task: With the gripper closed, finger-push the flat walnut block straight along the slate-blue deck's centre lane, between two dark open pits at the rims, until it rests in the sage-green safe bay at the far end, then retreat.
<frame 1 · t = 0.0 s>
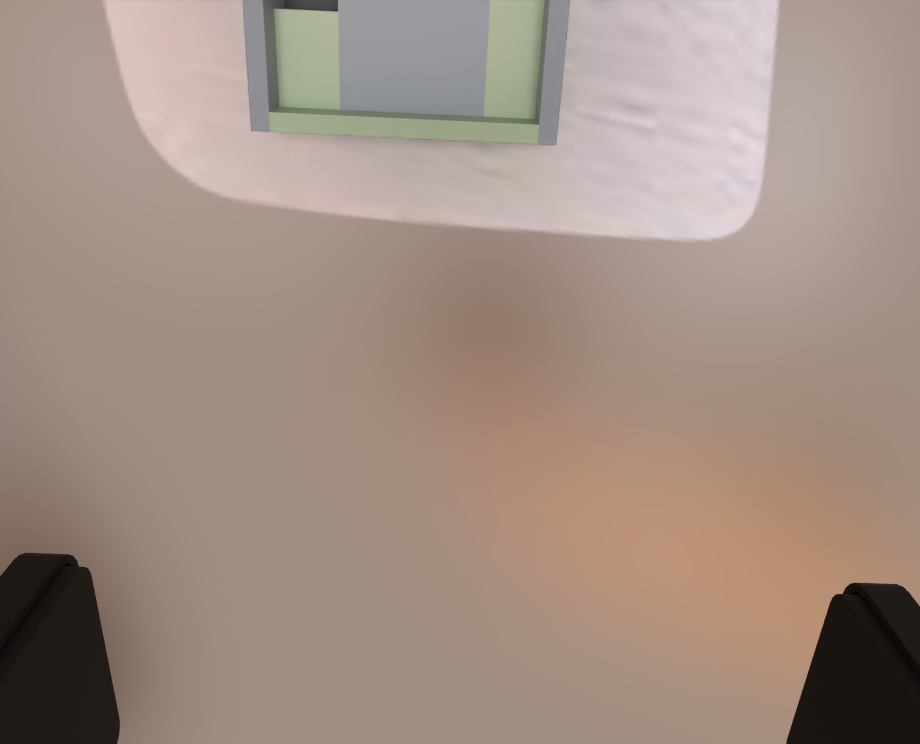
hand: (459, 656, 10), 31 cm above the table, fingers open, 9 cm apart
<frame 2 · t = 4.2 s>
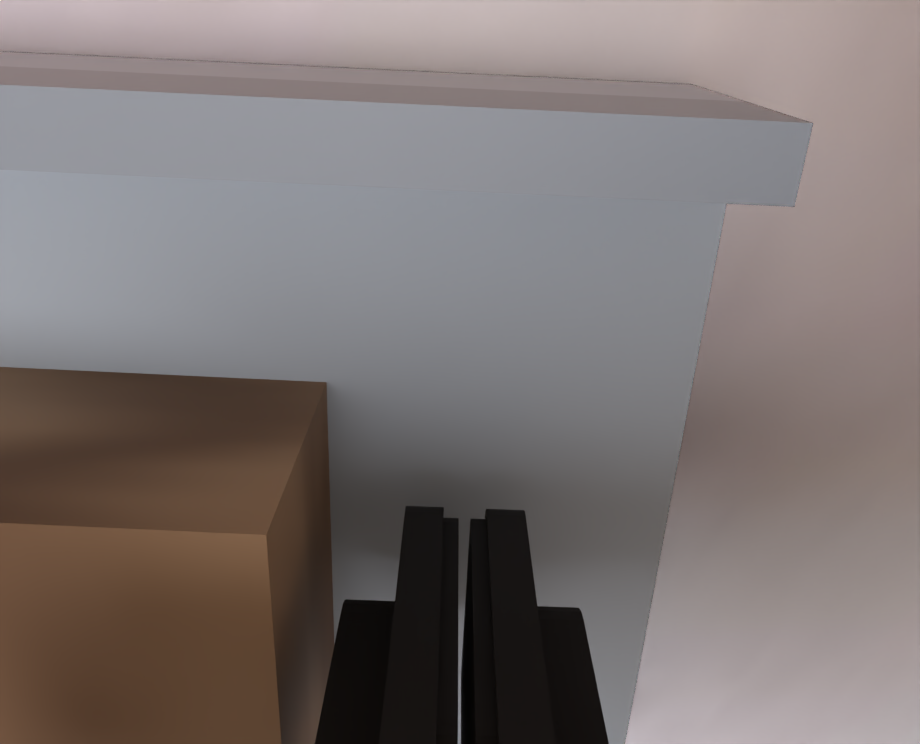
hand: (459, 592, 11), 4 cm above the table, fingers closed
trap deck: (16, 433, 14), on the table
block: (153, 534, 12), point 2 cm above the table, touching gripper, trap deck
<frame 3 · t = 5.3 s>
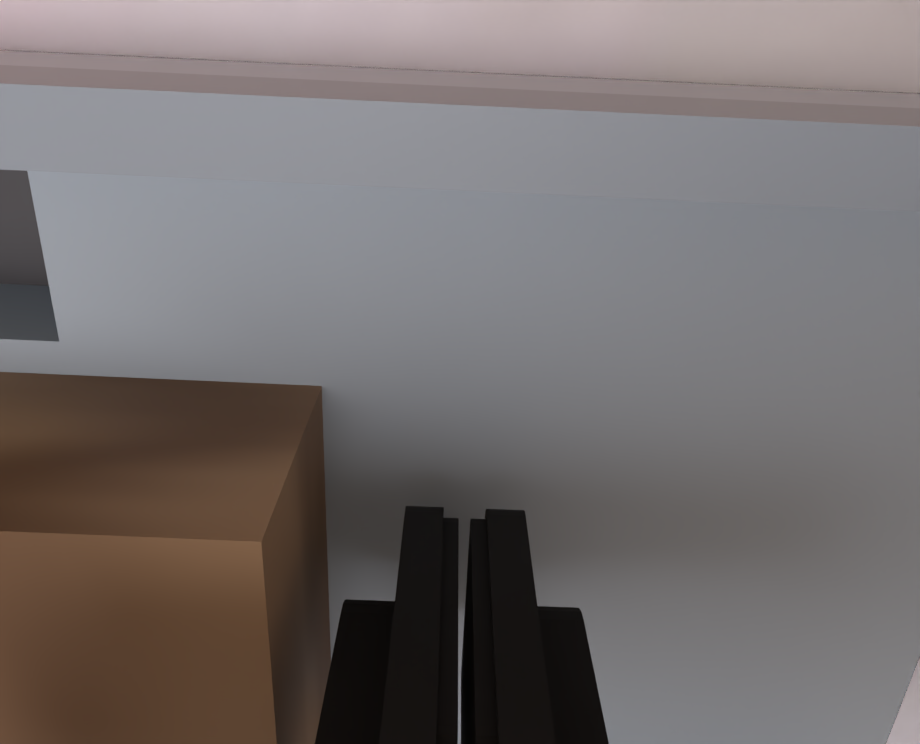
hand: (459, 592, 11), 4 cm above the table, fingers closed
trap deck: (264, 445, 14), on the table
block: (147, 539, 12), point 3 cm above the table, touching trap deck
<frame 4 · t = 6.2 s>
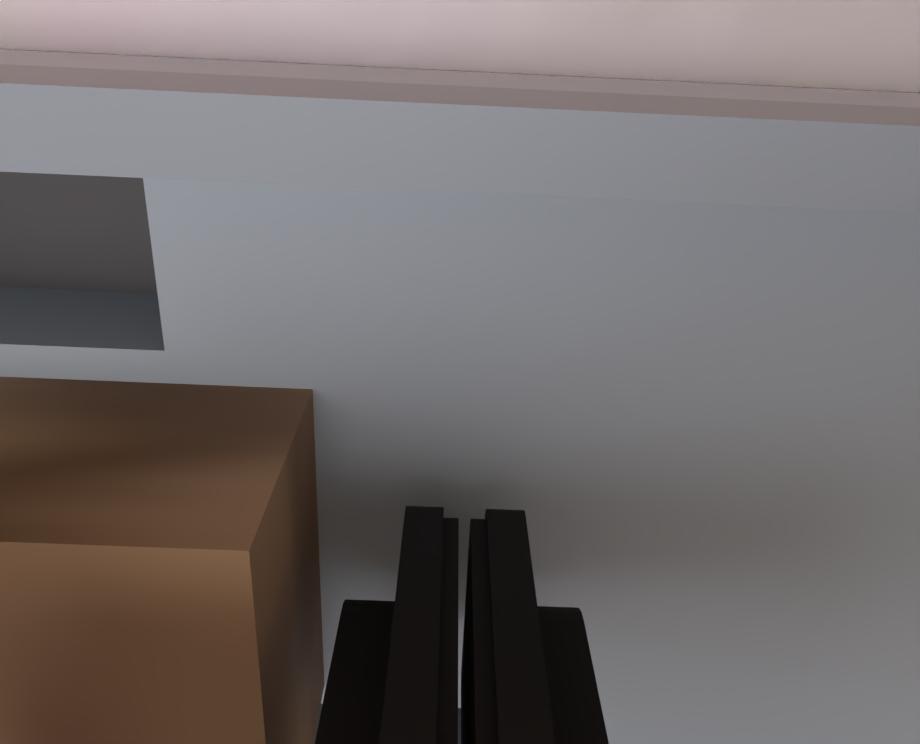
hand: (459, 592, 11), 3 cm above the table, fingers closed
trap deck: (344, 453, 14), on the table
block: (136, 545, 12), point 2 cm above the table, touching gripper, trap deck
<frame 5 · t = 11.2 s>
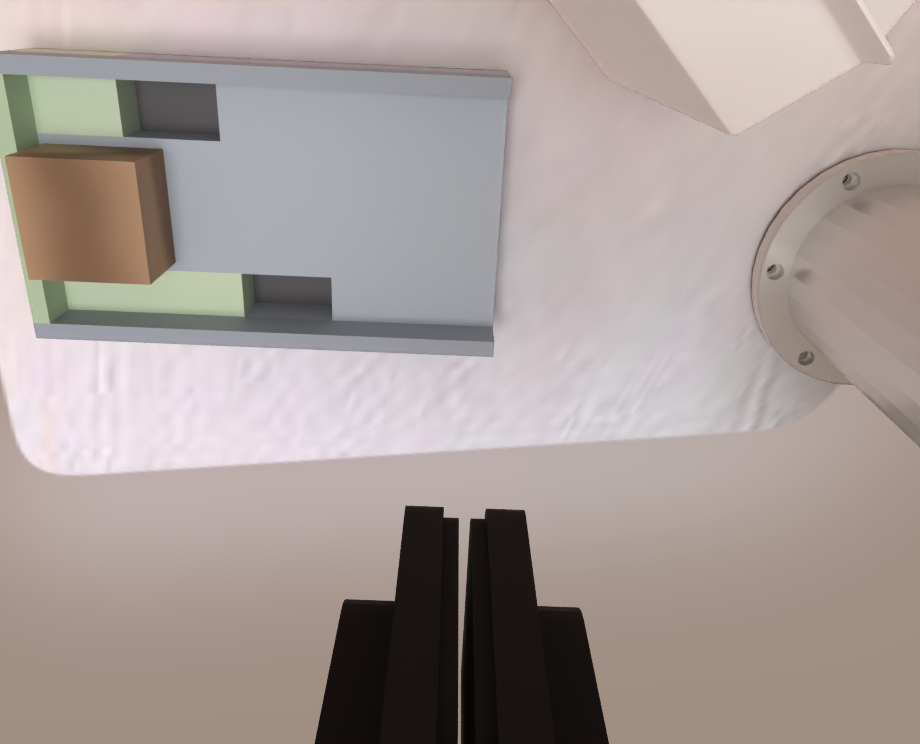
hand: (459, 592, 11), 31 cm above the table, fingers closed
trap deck: (278, 196, 40), on the table
block: (112, 204, 37), point 2 cm above the table, touching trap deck
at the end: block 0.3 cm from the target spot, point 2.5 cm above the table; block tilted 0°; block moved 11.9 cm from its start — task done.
